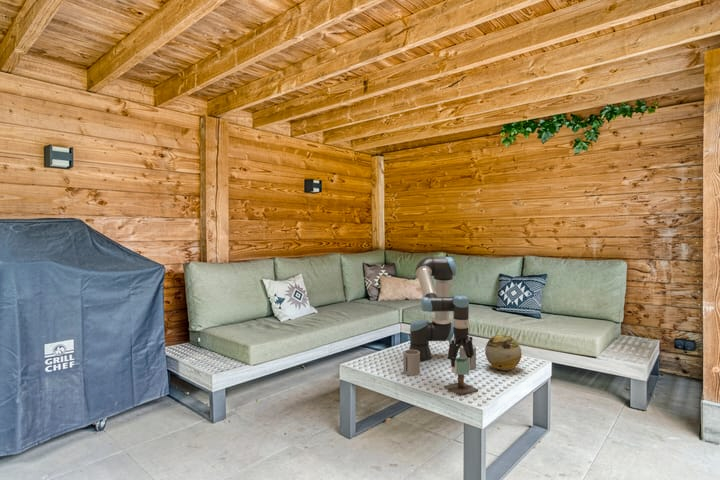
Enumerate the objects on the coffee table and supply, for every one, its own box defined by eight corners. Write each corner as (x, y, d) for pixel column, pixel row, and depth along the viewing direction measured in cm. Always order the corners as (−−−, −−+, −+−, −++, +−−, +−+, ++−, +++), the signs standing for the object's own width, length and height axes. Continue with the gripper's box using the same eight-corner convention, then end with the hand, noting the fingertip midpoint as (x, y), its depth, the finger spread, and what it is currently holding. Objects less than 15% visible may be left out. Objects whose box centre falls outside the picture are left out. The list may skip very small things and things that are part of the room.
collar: (449, 370, 212) (449, 359, 211) (461, 368, 216) (461, 356, 215) (460, 375, 204) (460, 363, 204) (472, 372, 209) (472, 361, 208)
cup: (421, 371, 238) (421, 350, 237) (418, 376, 229) (418, 355, 229) (405, 369, 240) (405, 349, 240) (402, 374, 232) (401, 353, 232)
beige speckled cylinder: (476, 370, 238) (476, 349, 238) (459, 369, 240) (459, 348, 240) (475, 365, 247) (475, 344, 247) (459, 364, 249) (459, 343, 249)
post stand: (443, 387, 213) (443, 366, 212) (461, 383, 219) (461, 362, 218) (460, 396, 202) (460, 373, 202) (478, 391, 208) (478, 369, 208)
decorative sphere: (482, 363, 251) (482, 330, 250) (516, 364, 249) (516, 331, 248) (489, 374, 231) (489, 339, 230) (525, 376, 229) (526, 340, 228)
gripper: (450, 331, 201) (450, 377, 202) (481, 325, 211) (481, 370, 212) (439, 328, 207) (439, 372, 208) (470, 323, 218) (470, 365, 219)
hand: (460, 371), depth 210 cm, fingers closed on collar, 8 cm apart
